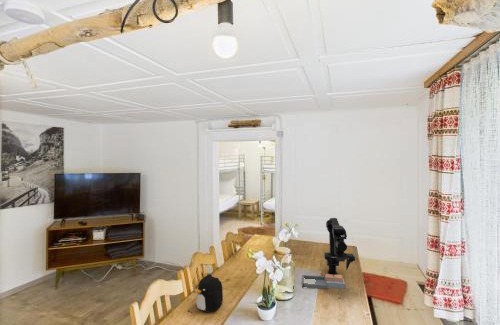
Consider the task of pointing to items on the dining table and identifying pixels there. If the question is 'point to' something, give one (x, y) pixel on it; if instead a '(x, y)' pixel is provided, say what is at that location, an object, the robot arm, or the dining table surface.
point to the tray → (318, 284)
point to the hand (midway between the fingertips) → (339, 269)
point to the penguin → (209, 293)
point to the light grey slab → (335, 284)
